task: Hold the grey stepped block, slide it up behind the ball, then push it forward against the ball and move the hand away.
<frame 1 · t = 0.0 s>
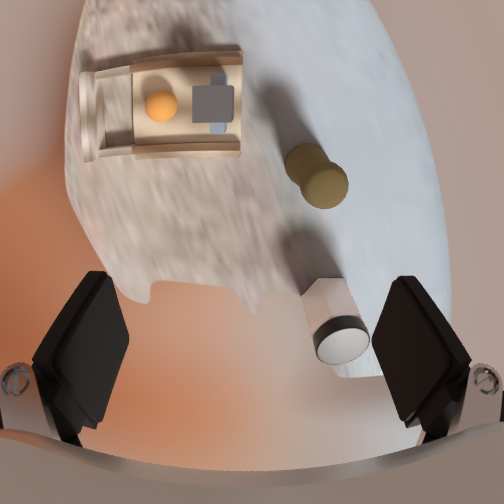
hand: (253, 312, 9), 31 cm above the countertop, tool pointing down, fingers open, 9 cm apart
grey stepped block: (216, 103, 28), point 6 cm above the countertop, slide at 0.0 cm
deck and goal: (157, 106, 33), on the countertop
ball: (161, 106, 30), point 3 cm above the countertop, touching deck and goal
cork: (307, 164, 38), on the countertop
jar: (326, 295, 49), on the countertop
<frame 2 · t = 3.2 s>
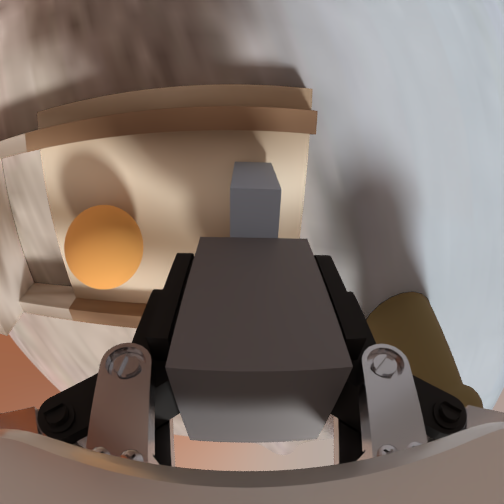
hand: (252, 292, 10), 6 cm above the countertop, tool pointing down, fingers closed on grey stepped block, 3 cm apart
grey stepped block: (252, 293, 10), point 6 cm above the countertop, slide at 0.0 cm, touching gripper
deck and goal: (103, 220, 15), on the countertop
ball: (103, 247, 13), point 3 cm above the countertop, touching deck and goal
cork: (396, 321, 20), on the countertop
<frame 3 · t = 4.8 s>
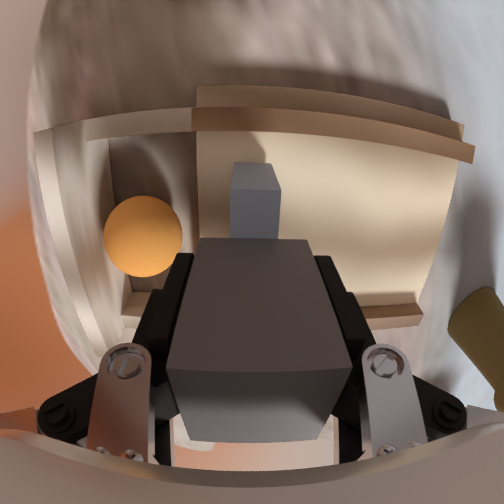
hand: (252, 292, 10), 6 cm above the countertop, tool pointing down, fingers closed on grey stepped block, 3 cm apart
grey stepped block: (252, 294, 10), point 6 cm above the countertop, slide at 8.9 cm, touching gripper
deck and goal: (258, 220, 16), on the countertop
ball: (142, 236, 14), point 2 cm above the countertop, tilted 149°
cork: (471, 312, 20), on the countertop
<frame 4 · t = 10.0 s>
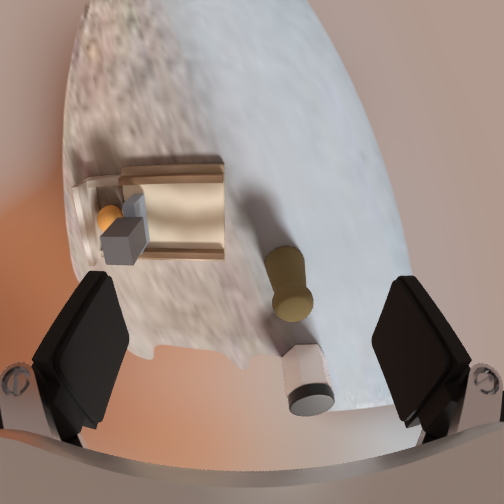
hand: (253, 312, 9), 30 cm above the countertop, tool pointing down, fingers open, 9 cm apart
grey stepped block: (130, 232, 34), point 6 cm above the countertop, slide at 9.0 cm
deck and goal: (148, 213, 39), on the countertop
ball: (110, 219, 38), point 2 cm above the countertop, tilted 162°
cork: (284, 262, 44), on the countertop
jar: (303, 356, 55), on the countertop
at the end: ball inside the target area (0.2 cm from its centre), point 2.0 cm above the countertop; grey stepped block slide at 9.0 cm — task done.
